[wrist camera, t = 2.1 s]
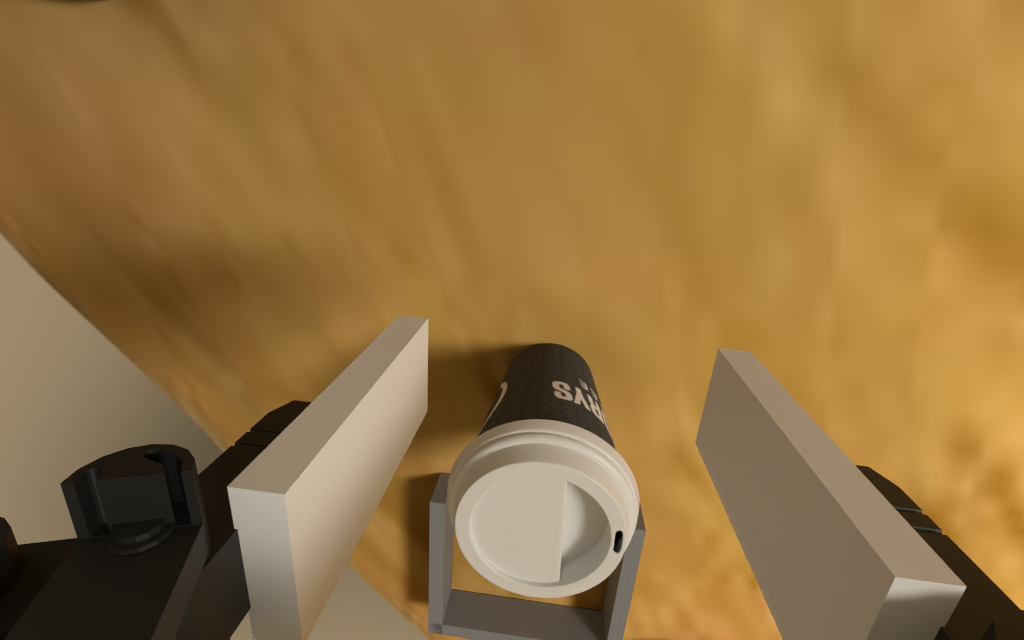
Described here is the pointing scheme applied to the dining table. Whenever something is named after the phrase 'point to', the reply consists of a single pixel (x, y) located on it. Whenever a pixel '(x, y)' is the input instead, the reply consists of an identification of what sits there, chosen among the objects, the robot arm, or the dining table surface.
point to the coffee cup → (544, 482)
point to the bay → (514, 622)
